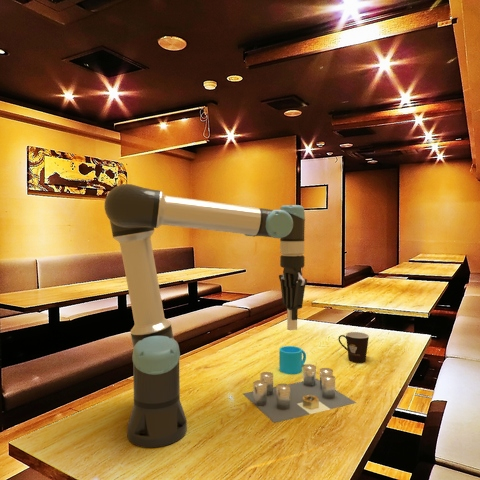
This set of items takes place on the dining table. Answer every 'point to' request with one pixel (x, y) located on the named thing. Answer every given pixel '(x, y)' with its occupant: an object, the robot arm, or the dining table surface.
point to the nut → (310, 402)
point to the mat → (300, 402)
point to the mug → (291, 359)
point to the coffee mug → (356, 346)
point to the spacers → (265, 386)
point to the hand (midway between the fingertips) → (292, 329)
